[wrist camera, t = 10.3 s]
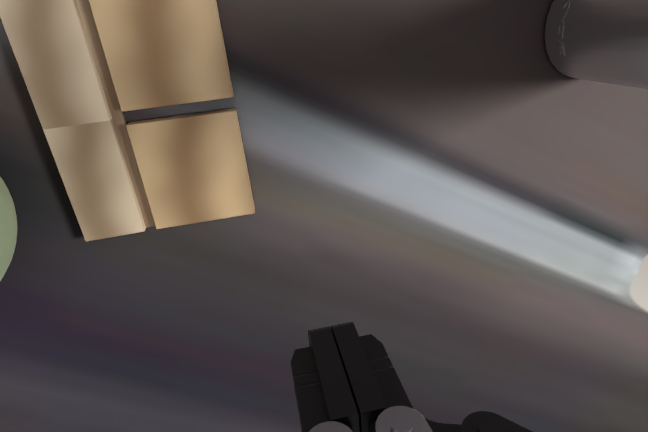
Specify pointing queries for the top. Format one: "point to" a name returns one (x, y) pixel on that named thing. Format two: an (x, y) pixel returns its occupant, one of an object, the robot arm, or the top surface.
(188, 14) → the plank near
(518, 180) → the top surface
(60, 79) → the laid strip
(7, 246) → the toy
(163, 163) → the plank far
